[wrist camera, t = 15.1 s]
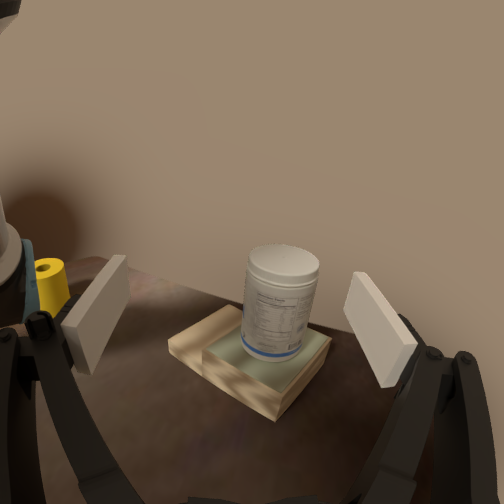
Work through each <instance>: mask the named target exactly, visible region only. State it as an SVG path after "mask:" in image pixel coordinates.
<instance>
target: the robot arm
mask: <svg viewBox="0 0 504 504" xmlns="http://www.w3.org/2000/svg"><path fill="white" fill-rule="evenodd" d="M20 4H21V0H0V34H1V33H2V32H3V30H4V29H5V28H6V27H7V26H8V25H9V24H10V23H11V22H12V21H13V20H14V19H15V18H16V17H17V16H18V12H19V8H20ZM130 297H131V294H130V285H129V275H128V265H127V256H126V255H116V254H115V255H114V256H113V257H112V258H111V259H110V261H109V262H108V263H107V264H106V265H105V267H104V268H103V269H102V270H101V272H100V273H99V274H98V275H97V277H96V278H95V279H94V280H93V282H92V283H91V284H90V285H89V287H88V288H87V289H86V291H85V292H84V293H83V295H78V294H76V295H74V296H73V297H71V298H70V299H68V300H67V302H66V303H65V304H64V307H62V308H61V309H60V311H59V312H58V313H57V315H56V316H55V317H54V319H52V315H51V314H50V313H49V312H47V311H43V310H40V299H39V292H38V286H37V279H36V270H35V262H34V255H33V248H32V243H31V241H30V240H28V239H20V237H19V234H18V233H17V231H16V230H15V229H14V228H13V227H12V226H11V225H10V224H8V223H6V221H5V216H4V212H3V207H2V201H1V196H0V328H3V327H7V326H11V325H15V324H23V323H24V322H25V323H24V324H25V326H26V329H27V332H28V334H29V337H18V334H17V332H16V331H15V329H13V328H8V327H7V328H3V329H1V330H0V504H46V500H45V495H44V490H43V484H42V478H41V471H40V464H39V455H38V445H37V432H36V408H35V388H36V381H40V382H41V386H42V389H43V393H44V396H45V399H46V402H47V405H48V408H49V411H50V414H51V417H52V420H53V423H54V426H55V428H56V431H57V433H58V436H59V438H60V441H61V443H62V446H63V448H64V450H65V453H66V455H67V457H68V459H69V462H70V464H71V466H72V468H73V470H74V472H75V474H76V476H77V478H78V481H79V483H78V486H79V489H80V491H81V493H82V495H83V497H84V498H85V500H86V502H87V504H145V503H144V502H143V500H142V499H141V498H140V496H139V495H138V494H137V492H136V491H135V489H134V488H133V486H132V485H131V484H130V482H129V481H128V479H127V478H126V476H125V475H124V473H123V471H122V470H121V468H120V467H119V465H118V464H117V462H116V460H115V459H114V457H113V455H112V454H111V452H110V450H109V448H108V447H107V445H106V443H105V441H104V440H103V438H102V436H101V434H100V432H99V430H98V428H97V427H96V425H95V423H94V421H93V419H92V417H91V415H90V413H89V411H88V409H87V406H86V404H85V402H84V400H83V398H82V396H81V393H80V391H79V389H78V386H77V384H76V382H75V379H74V377H73V374H72V372H71V368H72V366H73V364H74V365H75V368H76V370H77V372H78V373H83V374H87V375H91V376H92V374H93V372H94V370H95V367H96V365H97V363H98V361H99V359H100V357H101V355H102V353H103V350H104V348H105V346H106V344H107V342H108V340H109V338H110V336H111V334H112V332H113V330H114V328H115V326H116V324H117V322H118V320H119V318H120V316H121V314H122V313H123V311H124V309H125V307H126V305H127V303H128V301H129V299H130ZM343 311H344V313H345V315H346V317H347V319H348V321H349V323H350V325H351V327H352V329H353V331H354V333H355V335H356V337H357V339H358V341H359V343H360V345H361V347H362V349H363V351H364V353H365V355H366V357H367V359H368V361H369V363H370V365H371V367H372V369H373V371H374V373H375V376H376V378H377V380H378V382H379V384H380V386H381V388H386V387H393V386H395V385H396V383H397V381H398V379H399V378H400V379H401V381H402V385H401V387H400V388H399V390H398V392H397V393H396V395H395V396H394V399H395V401H394V403H393V406H392V408H391V411H390V413H389V415H388V418H387V420H386V422H385V424H384V427H383V429H382V431H381V433H380V435H379V437H378V439H377V441H376V443H375V445H374V447H373V449H372V451H371V453H370V455H369V457H368V459H367V461H366V463H365V465H364V466H363V468H362V470H361V472H360V474H359V475H358V477H357V479H356V480H355V482H354V484H353V486H352V487H351V489H350V491H349V492H348V494H347V495H346V496H345V498H344V499H343V500H342V501H341V502H340V503H339V504H409V503H410V501H411V499H412V496H413V494H414V491H415V489H416V485H417V482H416V481H414V480H413V478H414V475H415V472H416V469H417V466H418V464H419V461H420V458H421V455H422V452H423V449H424V446H425V442H426V439H427V436H428V432H429V429H430V425H431V421H432V418H433V414H434V465H433V480H432V491H431V501H430V504H500V502H499V499H498V495H497V472H496V459H495V451H494V441H493V434H492V428H491V422H490V416H489V411H488V406H487V401H486V396H485V392H484V387H483V383H482V379H481V375H480V371H479V368H478V364H477V361H476V359H475V357H473V355H472V354H470V353H469V352H466V351H459V352H458V353H457V354H456V356H455V357H454V358H446V357H444V355H443V354H442V352H441V351H440V350H438V349H437V348H435V347H431V346H426V344H425V343H424V341H423V340H422V338H421V337H420V336H419V334H418V333H417V332H416V331H415V329H414V328H413V327H412V325H411V323H410V322H409V321H408V320H407V319H406V318H405V317H404V316H402V315H401V314H397V313H396V312H395V311H394V309H393V308H392V307H391V305H390V304H389V303H388V301H387V300H386V299H385V297H384V296H383V295H382V293H381V292H380V291H379V289H378V288H377V287H376V286H375V284H374V283H373V282H372V281H371V279H370V278H369V276H368V275H367V274H366V273H365V272H354V274H353V278H352V282H351V285H350V289H349V292H348V295H347V299H346V302H345V305H344V309H343ZM180 504H239V503H234V502H230V501H226V500H222V499H209V498H197V497H188V502H187V503H180ZM267 504H331V503H328V502H322V501H318V499H317V495H311V496H303V497H292V498H285V499H282V500H278V501H275V502H271V503H267Z"/></svg>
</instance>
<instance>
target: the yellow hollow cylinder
mask: <svg viewBox="0 0 504 504" xmlns="http://www.w3.org/2000/svg"><path fill="white" fill-rule="evenodd" d="M35 270H36V279H37V286H38V292H39V299H40V310H43V311H47V312H49V313H50V314H51V315H52V318H54V317H55V316H56V315H57V313H58V312H59V311H60V309H61V308H62V307H64V304H65V303H66V302H67V300H68V299H70V293H69V289H68V284H67V279H66V274H65V269H64V263H63V262H62V261H61V260H59V259H56V258H45V259H40V260H37V261H35Z"/></svg>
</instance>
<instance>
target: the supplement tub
mask: <svg viewBox="0 0 504 504" xmlns="http://www.w3.org/2000/svg"><path fill="white" fill-rule="evenodd" d="M319 266H320V265H319V261H318V259H317V258H316V257H315V256H314V255H313V254H311V253H310V252H308V251H306V250H304V249H301V248H298V247H294V246H289V245H282V244H268V245H262V246H259V247H256V248H254V249H253V250H252V251H251V252H250V254H249V259H248V263H247V270H246V281H245V292H244V303H243V314H242V325H241V343H242V346H243V348H244V349H245V350H246V352H247V353H249V354H250V355H251V356H253V357H255V358H257V359H259V360H262V361H266V362H283V361H286V360H289V359H291V358H293V357H294V356H296V355H297V354H298V352H299V351H300V349H301V347H302V343H303V339H304V335H305V332H306V328H307V324H308V320H309V315H310V311H311V307H312V303H313V299H314V294H315V290H316V286H317V281H318V276H319Z"/></svg>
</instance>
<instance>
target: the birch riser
mask: <svg viewBox="0 0 504 504" xmlns="http://www.w3.org/2000/svg"><path fill="white" fill-rule="evenodd" d="M242 314H243V311H241V310H239V309H237V308H236V307H234V306H232V305H230V304H228V305H226V306H225V307H223V308H221V309H220V310H218V311H216V312H215V313H213V314H211V315H210V316H208V317H206V318H204V319H203V320H201V321H199V322H198V323H196V324H194V325H192V326H191V327H189V328H187V329H186V330H184V331H182V332H180V333H179V334H177V335H175V336H173V337H172V338H170V339H168V344H169V353H171V354H172V355H173V356H175V357H176V358H177V359H179V360H180V361H181V362H183V363H184V364H186V365H187V366H188V367H190V368H191V369H193V370H194V371H195V372H197V373H198V374H200V375H201V376H202V377H204V378H205V379H207V380H208V381H210V382H211V383H213V384H214V385H216V386H217V387H219V388H220V389H222V390H223V391H225V392H226V393H228V394H229V395H231V396H232V397H234V398H236V399H237V400H239V401H240V402H242V403H244V404H245V405H247V406H248V407H250V408H252V409H253V410H255V411H257V412H258V413H260V414H262V415H264V416H265V417H267V418H269V419H270V420H272V421H274V422H276V421H277V420H278V418H279V417H280V416H281V415H282V414H283V413H284V412H285V411H286V409H287V408H288V407H289V406H290V405H291V404H292V402H293V401H294V400H295V399H296V398H297V396H298V395H299V394H300V393H301V392H302V390H303V389H304V388H305V387H306V385H307V384H308V383H309V382H310V380H311V379H312V378H313V377H314V375H315V374H316V373H317V372H318V370H319V369H320V368H321V366H322V365H323V364H324V361H325V358H326V355H327V352H328V349H329V346H330V343H331V339H332V338H330V337H328V336H326V335H323V334H321V333H319V332H317V331H314V330H312V329H310V328H306V332H305V335H304V339H303V343H302V347H301V349H300V351H299V352H298V354H297V355H296V356H294V357H293V358H291V359H289V360H286V361H283V362H266V361H262V360H259V359H257V358H255V357H253V356H251V355H250V354H249V353H247V352H246V350H245V349H244V348H243V346H242V343H241V325H242Z"/></svg>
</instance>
